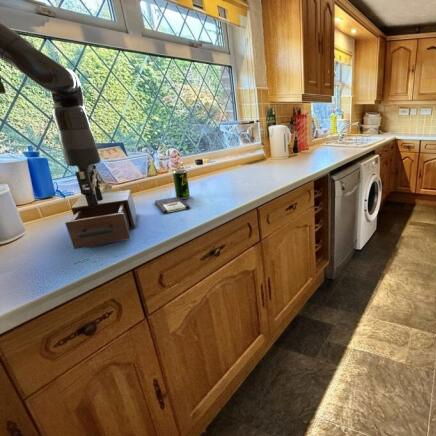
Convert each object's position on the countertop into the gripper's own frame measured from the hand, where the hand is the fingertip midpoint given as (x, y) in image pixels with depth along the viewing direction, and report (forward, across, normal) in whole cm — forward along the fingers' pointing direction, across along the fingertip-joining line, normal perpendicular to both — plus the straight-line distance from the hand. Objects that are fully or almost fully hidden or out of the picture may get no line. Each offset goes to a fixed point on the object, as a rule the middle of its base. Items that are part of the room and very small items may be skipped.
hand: (96, 204), depth 87 cm
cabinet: (+11, +13, 0) cm, 17 cm away
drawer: (+10, -2, 0) cm, 10 cm away
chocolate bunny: (+11, +40, +2) cm, 41 cm away
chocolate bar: (+11, +26, -19) cm, 34 cm away
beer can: (+10, +36, -24) cm, 44 cm away
